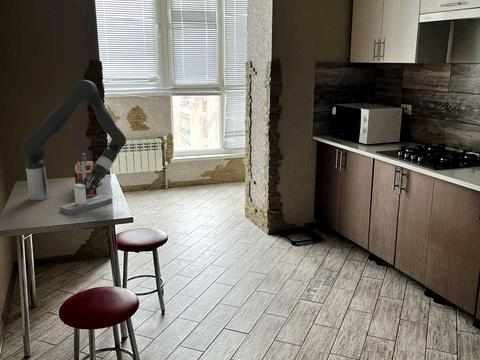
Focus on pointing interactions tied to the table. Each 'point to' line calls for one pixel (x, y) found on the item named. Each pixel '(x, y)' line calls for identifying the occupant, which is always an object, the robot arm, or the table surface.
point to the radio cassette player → (84, 172)
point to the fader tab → (80, 193)
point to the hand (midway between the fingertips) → (83, 195)
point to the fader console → (85, 205)
